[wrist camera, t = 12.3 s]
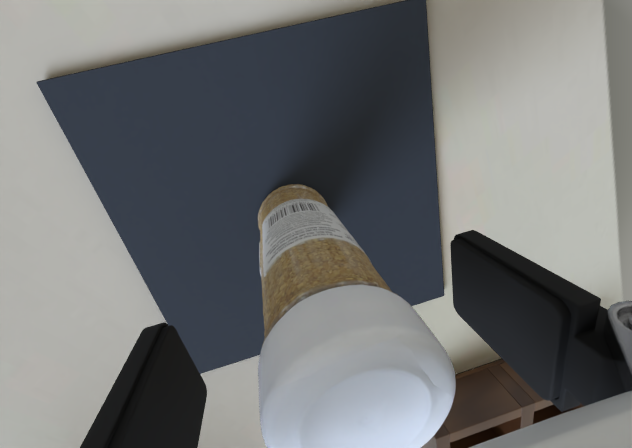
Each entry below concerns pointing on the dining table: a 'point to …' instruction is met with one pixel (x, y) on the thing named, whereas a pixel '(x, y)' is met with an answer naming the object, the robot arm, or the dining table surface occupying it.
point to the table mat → (262, 160)
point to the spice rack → (490, 407)
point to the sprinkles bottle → (339, 339)
